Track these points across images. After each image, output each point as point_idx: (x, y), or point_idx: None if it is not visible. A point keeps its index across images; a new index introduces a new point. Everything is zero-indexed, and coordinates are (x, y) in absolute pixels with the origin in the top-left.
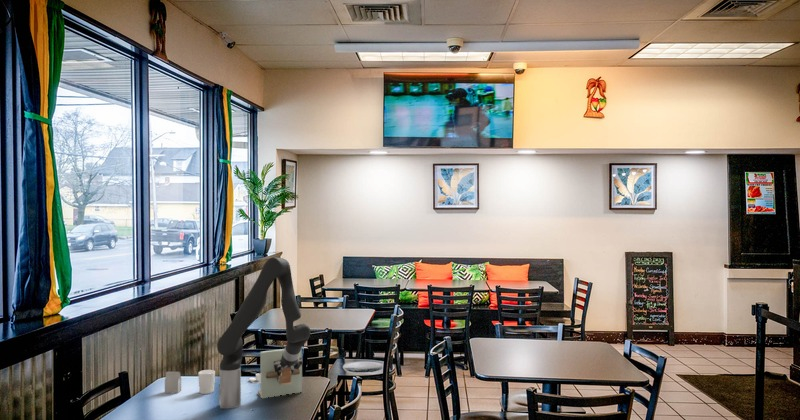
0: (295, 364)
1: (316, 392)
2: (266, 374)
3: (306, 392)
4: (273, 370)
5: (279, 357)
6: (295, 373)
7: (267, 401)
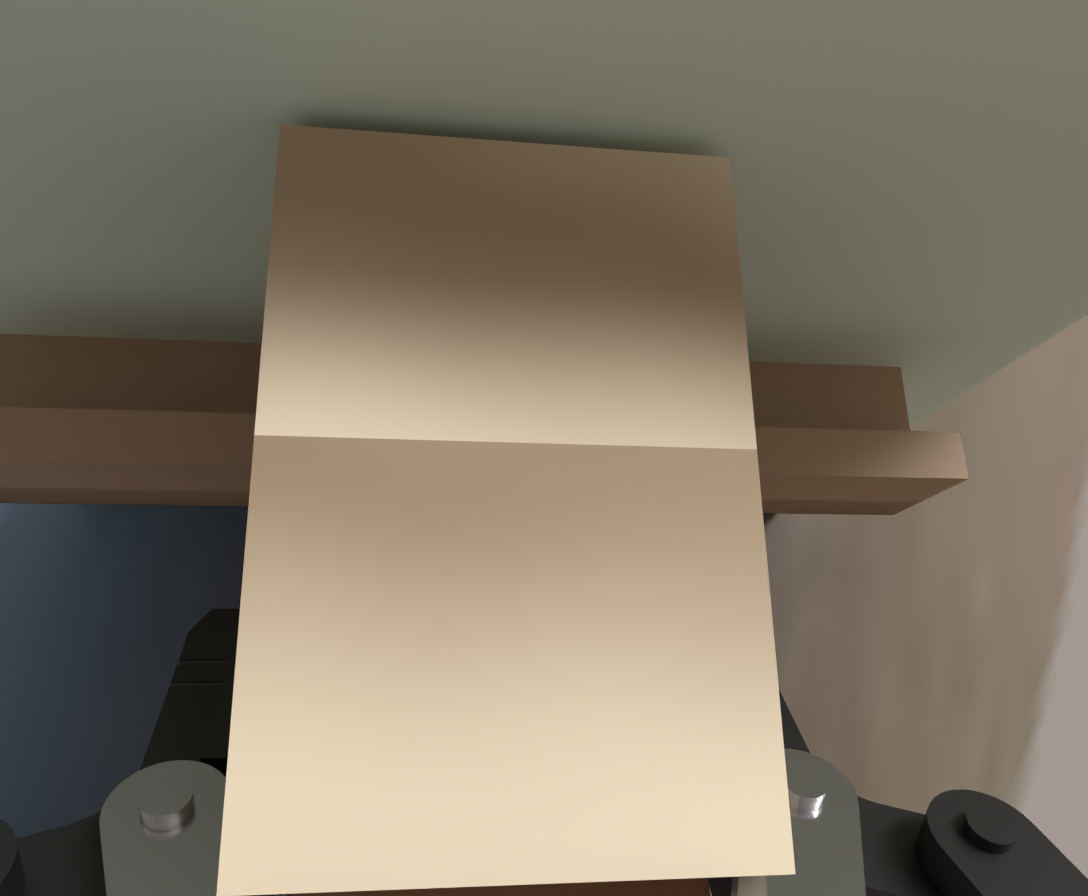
0: (947, 880)
1: (992, 619)
2: (3, 329)
3: (845, 542)
4: (205, 293)
5: (399, 29)
6: (802, 504)
7: (115, 703)
